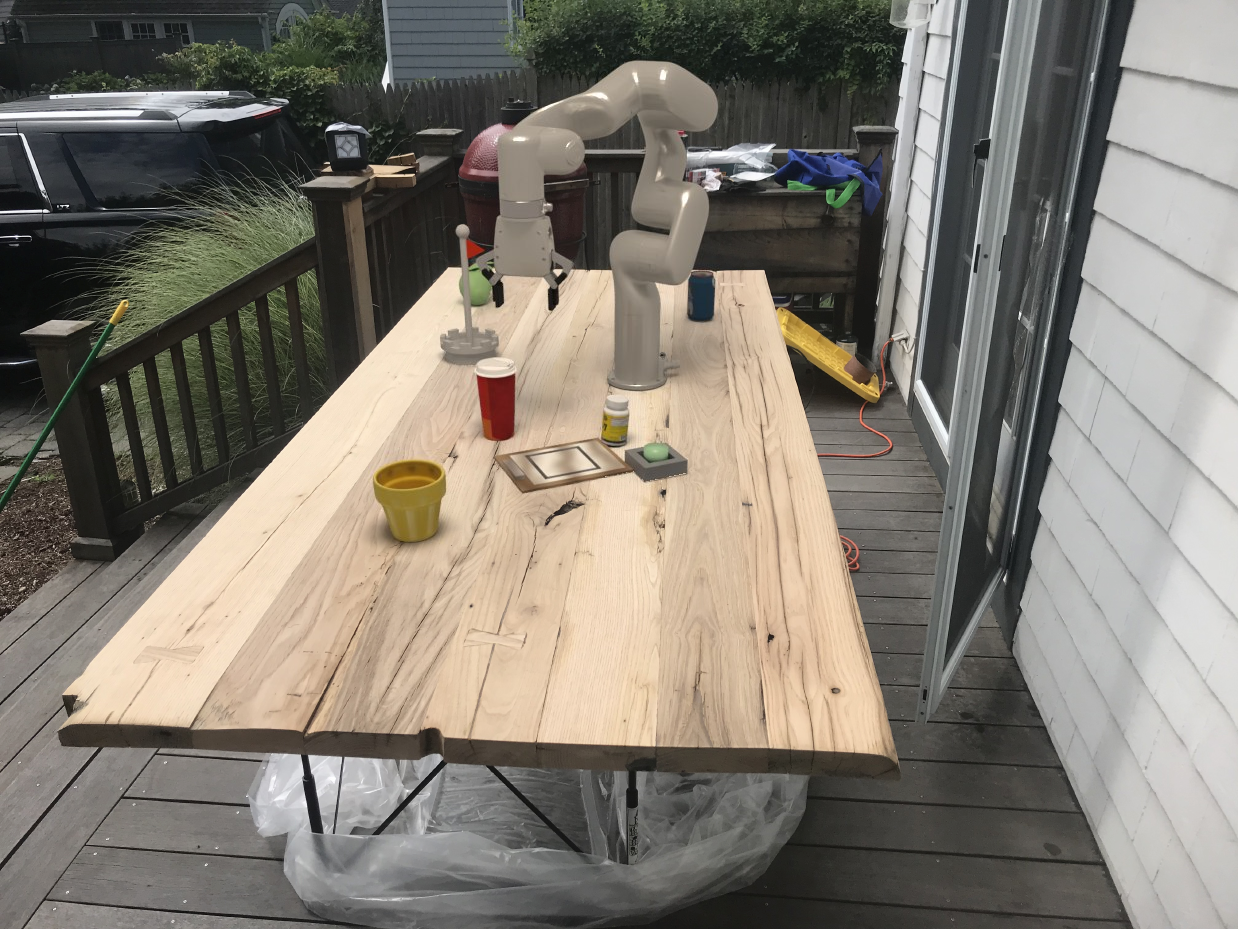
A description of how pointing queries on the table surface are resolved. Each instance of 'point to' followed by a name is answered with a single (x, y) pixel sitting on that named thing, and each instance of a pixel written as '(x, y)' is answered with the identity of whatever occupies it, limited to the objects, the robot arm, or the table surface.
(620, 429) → the supplement bottle
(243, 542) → the table surface
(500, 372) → the paper cup
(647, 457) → the button
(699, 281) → the soda can
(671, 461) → the button housing
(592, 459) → the brown bordered board
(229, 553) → the table surface
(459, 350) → the flag stand
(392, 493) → the plant pot
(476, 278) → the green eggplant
